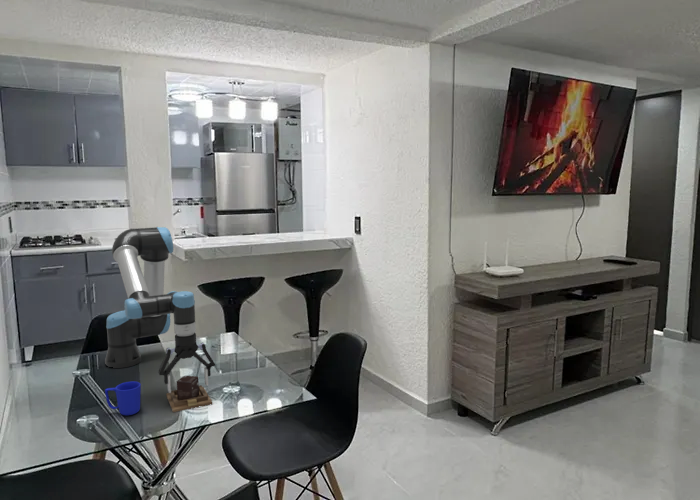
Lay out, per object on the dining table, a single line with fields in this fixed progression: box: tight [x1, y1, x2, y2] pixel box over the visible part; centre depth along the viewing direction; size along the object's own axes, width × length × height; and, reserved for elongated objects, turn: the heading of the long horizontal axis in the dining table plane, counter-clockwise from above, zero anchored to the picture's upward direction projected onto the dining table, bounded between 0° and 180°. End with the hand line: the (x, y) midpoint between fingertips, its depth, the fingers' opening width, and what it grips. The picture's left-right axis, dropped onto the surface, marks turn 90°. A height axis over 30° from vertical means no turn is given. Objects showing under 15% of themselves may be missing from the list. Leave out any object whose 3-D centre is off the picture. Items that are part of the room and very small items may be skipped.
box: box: [176, 375, 200, 400], centre depth 195 cm, size 6×6×7 cm
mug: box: [104, 380, 142, 416], centre depth 184 cm, size 8×12×10 cm
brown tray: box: [165, 385, 213, 413], centre depth 195 cm, size 16×14×2 cm
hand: (188, 388), depth 194 cm, fingers open, 13 cm apart
